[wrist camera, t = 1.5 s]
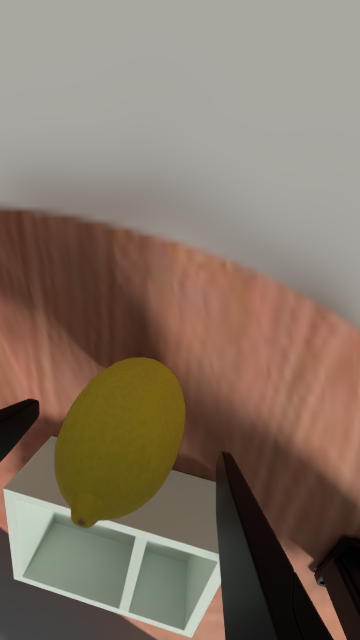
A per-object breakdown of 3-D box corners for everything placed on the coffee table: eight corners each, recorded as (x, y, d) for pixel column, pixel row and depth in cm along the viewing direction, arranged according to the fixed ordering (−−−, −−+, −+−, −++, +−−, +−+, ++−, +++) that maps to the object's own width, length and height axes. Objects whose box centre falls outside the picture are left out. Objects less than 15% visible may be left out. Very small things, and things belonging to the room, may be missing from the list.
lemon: (188, 407, 13) (171, 595, 6) (118, 400, 14) (16, 560, 6) (191, 340, 12) (175, 468, 4) (114, 335, 12) (-30, 438, 5)
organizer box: (224, 484, 15) (233, 558, 11) (193, 560, 18) (191, 637, 14) (51, 435, 16) (3, 488, 12) (51, 517, 19) (14, 578, 15)
